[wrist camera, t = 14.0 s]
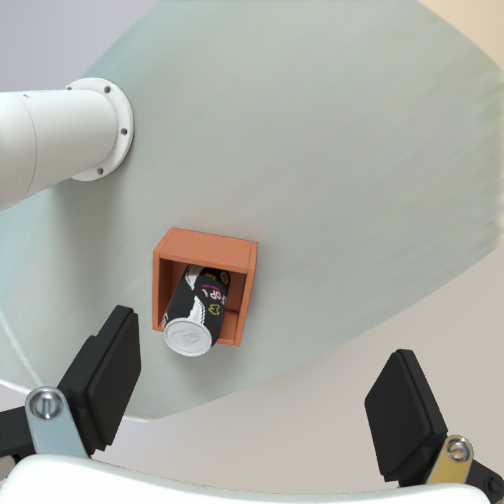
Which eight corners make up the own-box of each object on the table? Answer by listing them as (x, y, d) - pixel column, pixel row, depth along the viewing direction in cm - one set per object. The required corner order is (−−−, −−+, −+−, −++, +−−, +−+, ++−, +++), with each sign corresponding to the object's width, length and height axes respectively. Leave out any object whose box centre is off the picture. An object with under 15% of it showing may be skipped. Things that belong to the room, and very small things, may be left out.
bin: (166, 299, 42) (152, 329, 36) (170, 227, 37) (153, 250, 31) (243, 313, 42) (239, 346, 36) (257, 242, 37) (255, 269, 31)
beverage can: (240, 281, 39) (230, 348, 28) (204, 302, 41) (184, 368, 30) (212, 246, 37) (189, 304, 26) (176, 269, 39) (145, 330, 28)
